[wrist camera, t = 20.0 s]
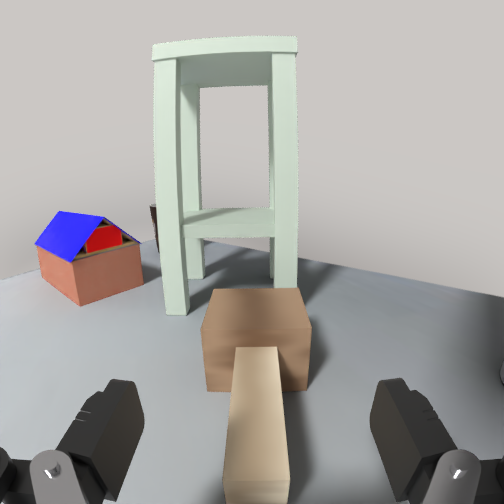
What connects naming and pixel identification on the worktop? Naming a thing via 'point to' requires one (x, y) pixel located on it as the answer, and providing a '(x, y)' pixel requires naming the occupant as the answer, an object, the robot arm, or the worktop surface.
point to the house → (88, 257)
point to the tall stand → (188, 156)
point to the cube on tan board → (256, 383)
